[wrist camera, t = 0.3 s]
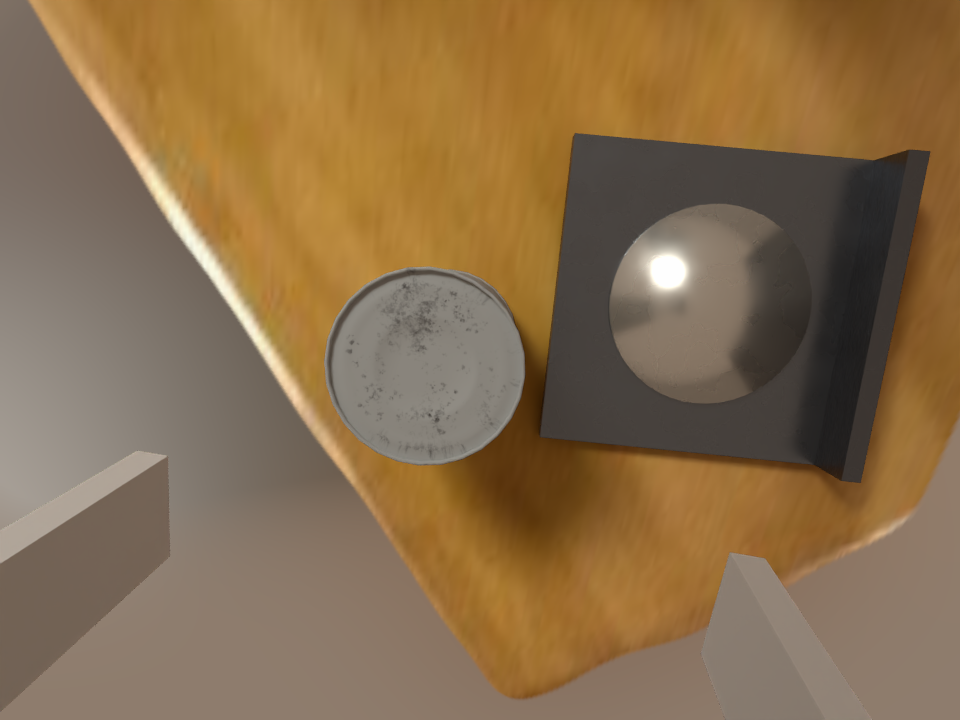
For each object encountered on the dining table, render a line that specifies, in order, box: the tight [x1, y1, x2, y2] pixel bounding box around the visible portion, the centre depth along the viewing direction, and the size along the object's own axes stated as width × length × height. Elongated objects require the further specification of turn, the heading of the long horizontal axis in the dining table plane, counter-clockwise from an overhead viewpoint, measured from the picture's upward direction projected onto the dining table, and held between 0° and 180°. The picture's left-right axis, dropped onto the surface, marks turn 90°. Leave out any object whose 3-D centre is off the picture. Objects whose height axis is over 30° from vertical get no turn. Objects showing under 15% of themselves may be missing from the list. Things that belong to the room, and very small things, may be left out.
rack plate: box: [539, 133, 930, 483], centre depth 35 cm, size 20×20×4 cm
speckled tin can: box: [324, 267, 525, 465], centre depth 32 cm, size 10×10×12 cm
